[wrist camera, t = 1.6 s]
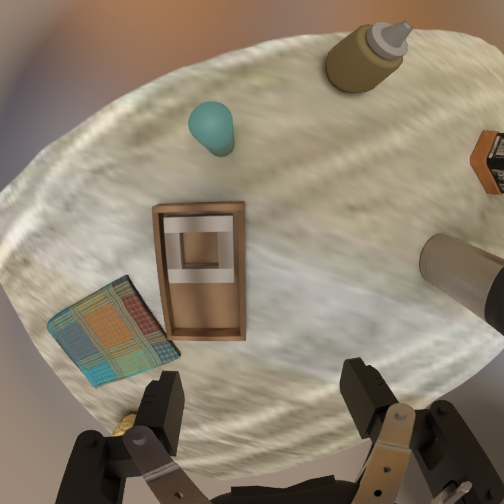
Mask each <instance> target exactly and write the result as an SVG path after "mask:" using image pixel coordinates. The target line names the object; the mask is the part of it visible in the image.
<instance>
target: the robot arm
mask: <svg viewBox="0 0 504 504" xmlns="http://www.w3.org/2000/svg"><path fill="white" fill-rule="evenodd" d="M420 271H421V274H422V276H423V278H424V279H425V280H426V281H428V282H429V283H431V284H432V285H434V286H436V287H437V288H438V289H440V290H441V291H443V292H444V293H446V294H447V295H449V296H450V297H452V298H453V299H454V300H456V301H457V302H459V303H460V304H462V305H463V306H465V307H466V308H467V309H469V310H470V311H472V312H473V313H474V314H476V315H477V316H479V317H480V318H481V319H483V320H484V321H485V322H487V323H488V324H489V325H491V326H492V327H493V328H495V329H496V330H497V331H498V332H500V333H501V334H502V335H503V336H504V259H503V258H500V257H498V256H496V255H493V254H491V253H489V252H486V251H484V250H482V249H479V248H477V247H475V246H472V245H470V244H467V243H465V242H462V241H460V240H457V239H455V238H452V237H450V236H447V235H444V234H438V235H435V236H434V237H432V238H431V239H430V240H429V241H428V242H427V244H426V245H425V247H424V249H423V251H422V254H421V258H420ZM340 391H341V394H342V396H343V398H344V401H345V403H346V405H347V407H348V409H349V412H350V414H351V416H352V418H353V420H354V423H355V425H356V427H357V429H358V432H359V434H360V436H361V438H362V439H365V438H369V437H370V439H371V441H372V444H371V446H370V449H369V451H368V454H367V456H366V459H365V461H364V463H363V465H362V468H361V470H360V472H359V474H358V476H357V478H356V480H355V482H354V483H353V482H349V481H342V480H335V478H334V475H330V476H325V477H320V478H315V479H310V480H307V481H304V482H302V483H299V484H296V485H293V486H291V487H288V488H272V487H263V486H240V487H231V492H230V493H225V494H223V495H220V496H217V497H215V498H213V499H211V500H208V498H207V497H206V496H205V495H204V494H203V493H202V492H201V491H200V490H199V488H198V487H197V486H196V485H195V484H194V483H193V482H192V480H191V479H190V478H189V477H188V476H187V474H186V473H185V472H184V471H183V470H182V468H181V467H180V466H179V465H178V464H177V463H175V462H174V461H173V459H172V458H171V457H170V456H175V457H176V453H177V446H178V440H179V434H180V427H181V421H182V415H183V410H184V403H185V398H184V391H183V387H182V383H181V379H180V375H179V372H178V371H162V373H161V376H160V379H159V381H156V380H152V381H151V382H150V383H149V385H148V386H147V387H146V389H145V392H144V394H143V397H142V400H141V403H140V406H139V409H138V412H137V415H136V418H135V421H134V424H133V426H132V427H130V428H129V429H127V430H126V431H125V432H124V434H123V435H120V436H111V437H103V435H102V434H101V433H100V432H98V431H95V430H87V431H84V432H82V433H81V434H80V435H79V436H78V437H77V439H76V442H75V445H74V447H73V450H72V453H71V455H70V458H69V461H68V464H67V467H66V470H65V473H64V476H63V479H62V482H61V485H60V488H59V492H58V495H57V499H56V503H55V504H122V500H123V494H124V488H125V482H126V477H137V476H143V478H144V479H145V481H146V483H147V484H148V486H149V487H150V489H151V491H152V492H153V493H154V495H155V496H156V498H157V499H158V501H159V502H160V503H161V504H396V503H395V500H396V498H397V495H398V492H399V489H400V486H401V483H402V480H403V477H404V474H405V470H406V467H407V463H408V460H409V456H410V452H411V450H412V451H413V453H414V456H415V458H416V460H417V462H418V464H419V466H420V468H421V471H422V473H423V475H424V477H425V479H426V482H427V484H428V486H429V488H430V491H431V493H432V495H433V498H434V499H433V501H432V502H431V504H499V503H501V501H502V500H503V498H504V484H503V483H502V481H501V479H500V477H499V476H498V474H497V472H496V470H495V468H494V467H493V465H492V463H491V462H490V460H489V458H488V457H487V455H486V454H485V452H484V450H483V449H482V447H481V446H480V444H479V443H478V441H477V439H476V438H475V436H474V435H473V434H472V432H471V430H470V429H469V427H468V426H467V424H466V423H465V422H464V420H463V419H462V417H461V416H460V414H459V413H458V411H457V410H456V409H455V407H454V406H453V405H452V404H451V403H450V402H448V401H446V400H438V401H435V402H434V403H433V404H432V405H431V407H430V409H422V410H414V409H413V408H412V407H411V406H410V405H408V404H404V403H399V402H398V400H397V399H396V397H395V396H394V394H393V393H392V391H391V390H390V388H389V387H388V385H387V384H386V382H385V381H384V379H383V378H382V376H381V375H380V373H379V372H378V370H376V369H375V368H374V367H372V366H371V365H367V366H366V365H365V364H364V362H363V360H362V359H361V358H360V357H357V358H352V359H346V360H345V361H344V364H343V369H342V374H341V378H340Z"/></svg>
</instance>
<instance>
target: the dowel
mask: <svg viewBox="0 0 504 504" xmlns="http://www.w3.org/2000/svg"><path fill="white" fill-rule="evenodd" d="M188 125H189V130H190V132H191V134H192V135H193V136H194V137H195V138H196V139H197V140H198V141H199V142H200V143H202V144H203V145H204V146H205V147H206V148H207V149H208V150H209V151H210V152H212V153H213V154H214V155H216V156H219V157H223V156H227V155H228V154H230V153H231V152H232V150H233V149H234V132H233V119H232V115H231V112H230V111H229V109H228V108H227V107H226V106H225V105H223V104H221V103H218V102H205V103H202V104H200V105H198V106H197V107H196V108H195V109H194V110H193V111H192V113H191V115H190V117H189V122H188Z"/></svg>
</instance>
